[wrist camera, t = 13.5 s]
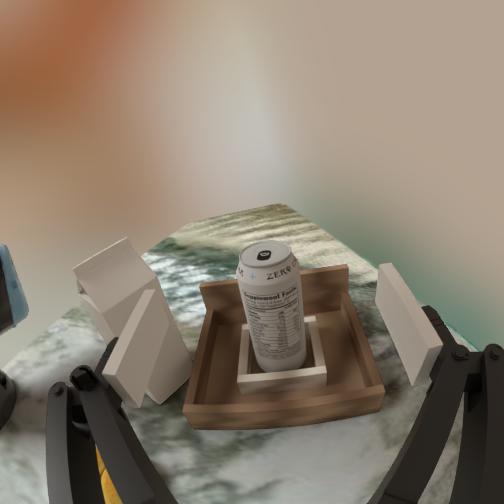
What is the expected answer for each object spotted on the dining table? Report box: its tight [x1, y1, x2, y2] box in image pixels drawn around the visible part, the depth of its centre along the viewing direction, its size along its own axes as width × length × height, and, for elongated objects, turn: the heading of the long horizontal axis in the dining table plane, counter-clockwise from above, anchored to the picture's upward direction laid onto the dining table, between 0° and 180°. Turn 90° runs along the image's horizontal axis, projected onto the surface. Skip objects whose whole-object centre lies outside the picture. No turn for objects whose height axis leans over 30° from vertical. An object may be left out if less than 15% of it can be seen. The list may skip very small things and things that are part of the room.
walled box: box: [182, 264, 385, 430], centre depth 31 cm, size 20×18×8 cm
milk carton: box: [73, 237, 193, 405], centre depth 30 cm, size 7×7×19 cm
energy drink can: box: [236, 240, 307, 373], centre depth 29 cm, size 6×6×15 cm
